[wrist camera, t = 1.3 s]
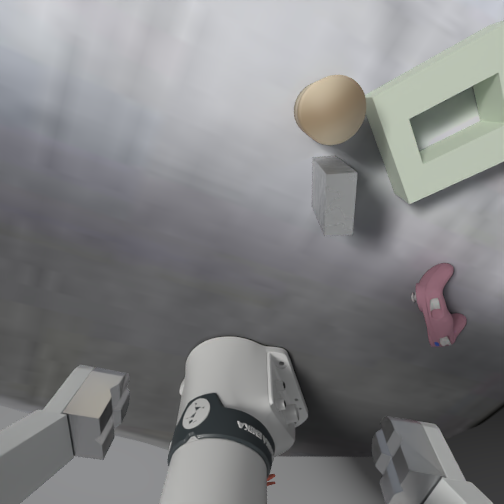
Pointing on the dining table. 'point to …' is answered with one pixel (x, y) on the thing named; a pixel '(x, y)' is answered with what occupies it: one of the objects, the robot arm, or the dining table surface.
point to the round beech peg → (331, 109)
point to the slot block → (430, 94)
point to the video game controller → (438, 306)
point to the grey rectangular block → (333, 195)
